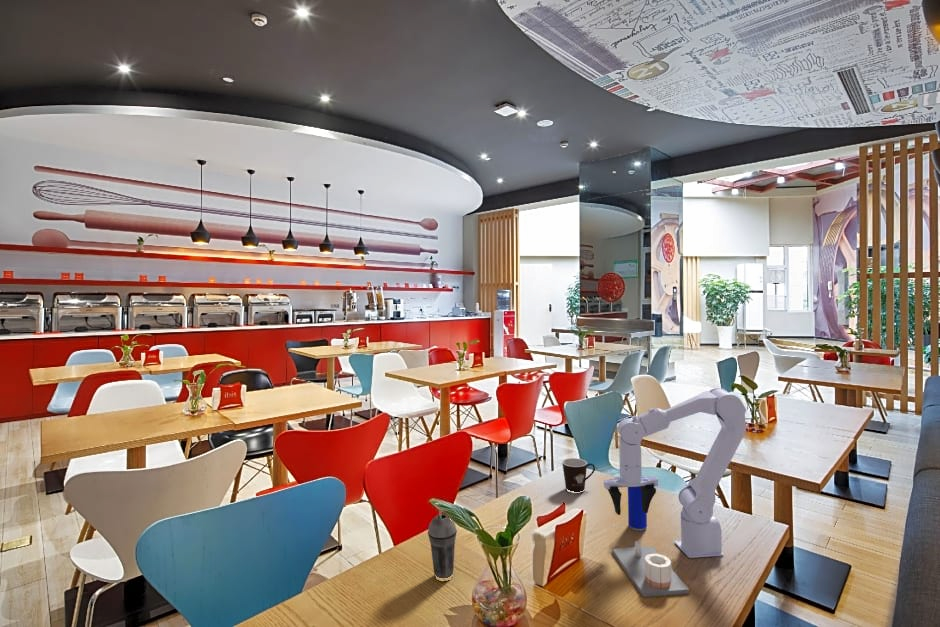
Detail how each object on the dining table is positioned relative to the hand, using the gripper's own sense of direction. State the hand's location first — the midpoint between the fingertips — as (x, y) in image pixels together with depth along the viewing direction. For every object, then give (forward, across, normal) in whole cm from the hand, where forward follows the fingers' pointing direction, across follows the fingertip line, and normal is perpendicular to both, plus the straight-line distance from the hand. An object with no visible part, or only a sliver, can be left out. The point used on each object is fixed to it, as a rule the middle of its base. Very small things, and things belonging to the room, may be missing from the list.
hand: (631, 512), depth 130 cm
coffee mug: (+10, +3, -38) cm, 39 cm away
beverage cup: (+10, +52, +8) cm, 53 cm away
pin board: (+9, +1, +12) cm, 15 cm away
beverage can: (+10, -6, -10) cm, 15 cm away
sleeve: (+8, +1, +18) cm, 19 cm away
